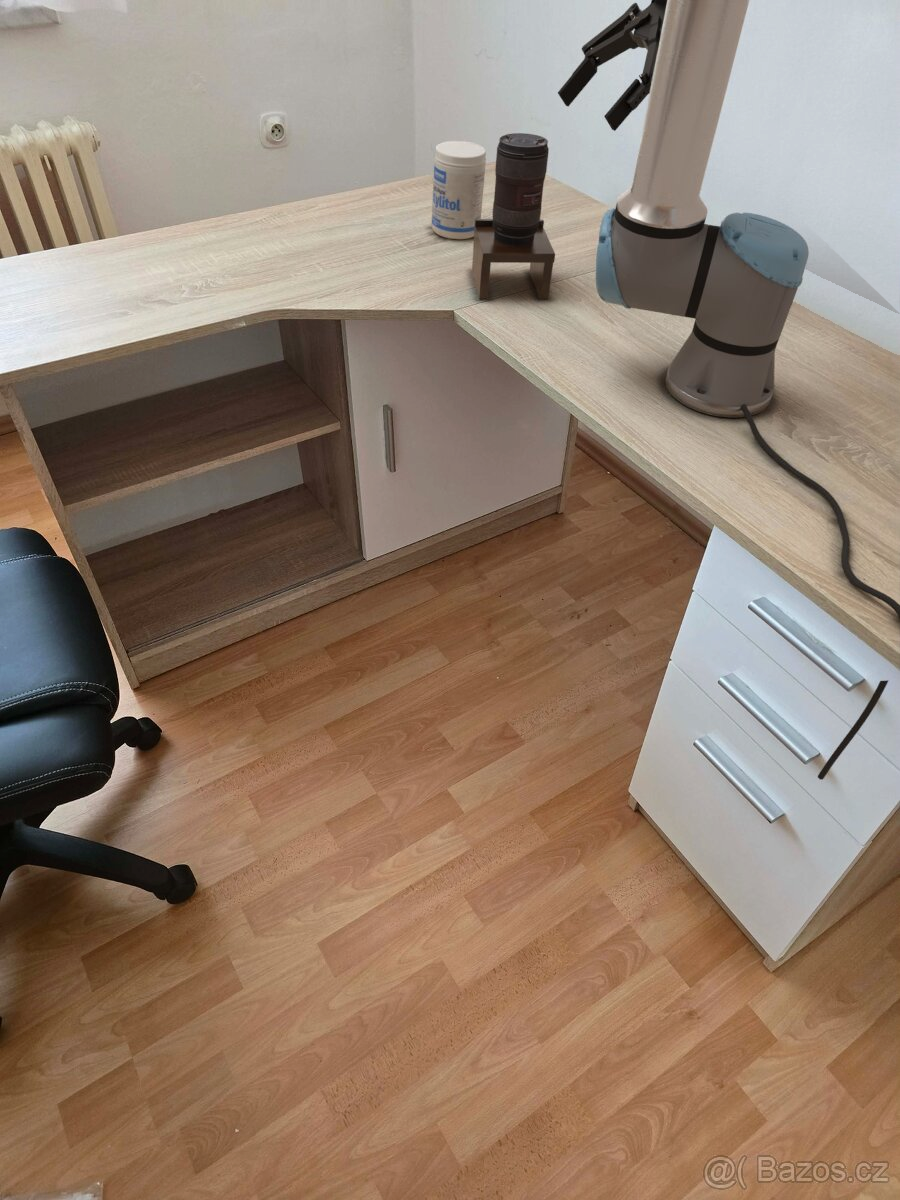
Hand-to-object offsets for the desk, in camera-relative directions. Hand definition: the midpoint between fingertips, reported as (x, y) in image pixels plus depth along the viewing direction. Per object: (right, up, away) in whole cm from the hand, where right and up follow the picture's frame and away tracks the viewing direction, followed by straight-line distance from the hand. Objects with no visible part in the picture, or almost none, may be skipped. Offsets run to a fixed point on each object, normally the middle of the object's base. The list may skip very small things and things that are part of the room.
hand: (585, 111), depth 122 cm
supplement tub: (-20, -4, +31) cm, 37 cm away
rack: (-11, -21, +15) cm, 28 cm away
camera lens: (-10, -16, +10) cm, 21 cm away
